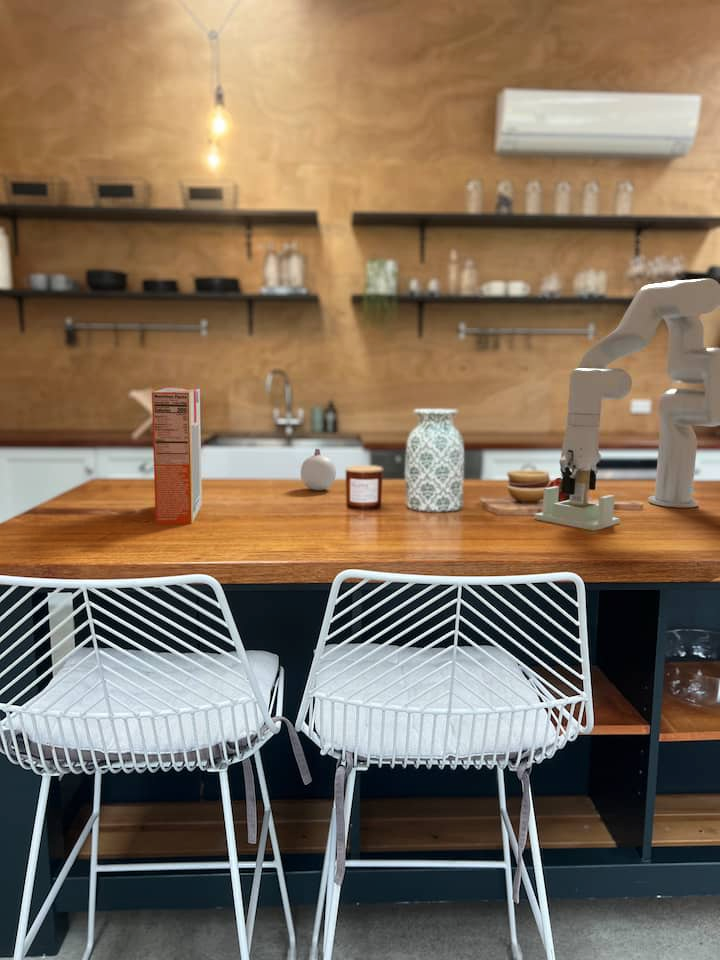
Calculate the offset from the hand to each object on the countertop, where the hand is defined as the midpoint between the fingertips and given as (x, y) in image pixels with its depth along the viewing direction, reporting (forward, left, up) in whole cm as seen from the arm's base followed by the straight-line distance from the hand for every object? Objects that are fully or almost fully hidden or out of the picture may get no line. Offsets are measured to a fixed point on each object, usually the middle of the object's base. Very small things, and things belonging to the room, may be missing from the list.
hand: (578, 491), depth 175 cm
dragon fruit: (-12, -11, -8) cm, 18 cm away
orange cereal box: (+69, -68, -8) cm, 97 cm away
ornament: (+22, -71, -7) cm, 75 cm away
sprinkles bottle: (0, 0, -6) cm, 6 cm away
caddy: (0, 0, -7) cm, 7 cm away
